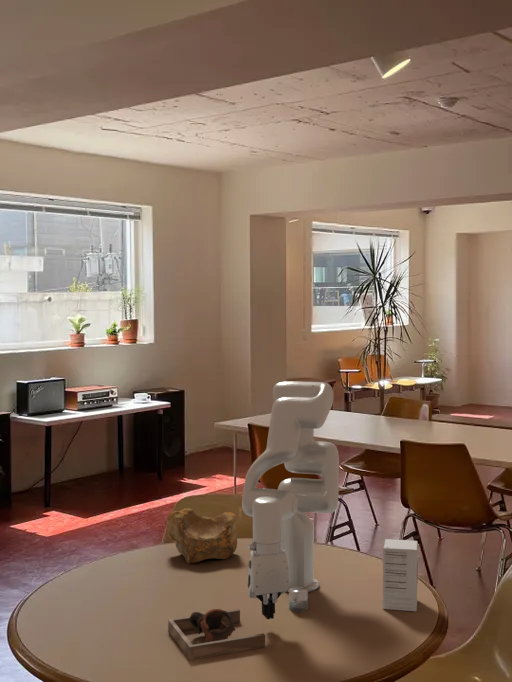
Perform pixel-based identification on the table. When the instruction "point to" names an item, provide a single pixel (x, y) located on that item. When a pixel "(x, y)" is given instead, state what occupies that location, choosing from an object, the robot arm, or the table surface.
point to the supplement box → (400, 574)
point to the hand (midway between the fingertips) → (268, 616)
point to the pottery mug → (213, 624)
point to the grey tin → (298, 599)
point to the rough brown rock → (202, 535)
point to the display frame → (216, 646)
